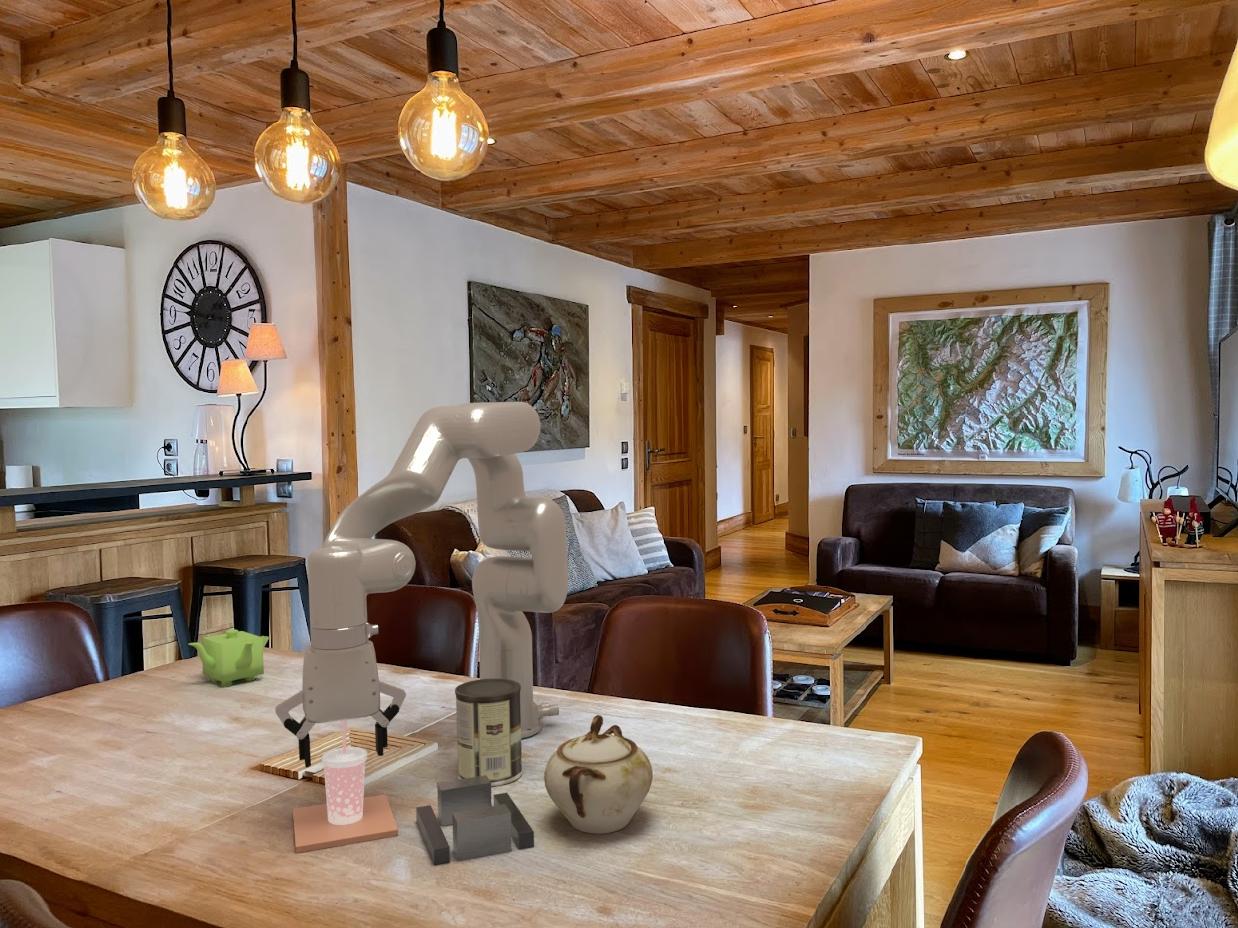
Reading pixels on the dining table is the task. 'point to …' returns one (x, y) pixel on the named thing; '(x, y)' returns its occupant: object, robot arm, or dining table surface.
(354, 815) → the beverage cup
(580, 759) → the sugar bowl
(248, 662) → the kettle
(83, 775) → the dining table surface
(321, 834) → the terracotta tile
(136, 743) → the dining table surface
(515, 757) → the coffee can
